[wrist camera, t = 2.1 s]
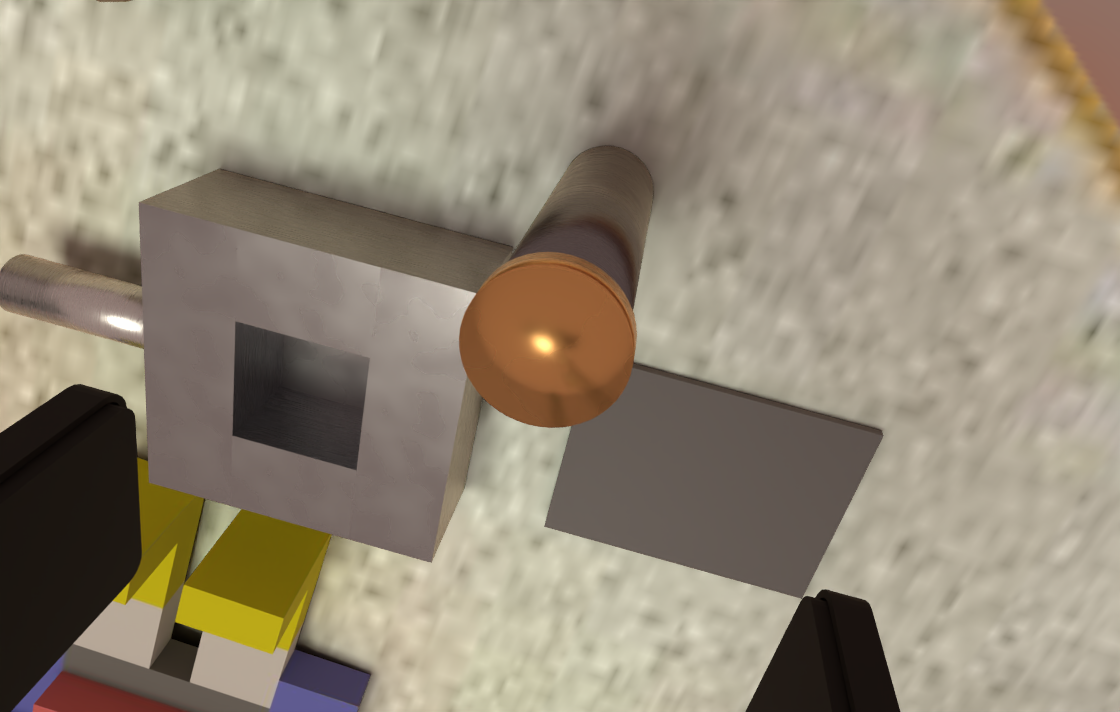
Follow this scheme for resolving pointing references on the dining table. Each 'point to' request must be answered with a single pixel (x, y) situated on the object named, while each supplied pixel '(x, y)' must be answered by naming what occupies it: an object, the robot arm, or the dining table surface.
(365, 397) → the block
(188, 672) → the toy
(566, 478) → the mat
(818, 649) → the robot arm
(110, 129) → the dining table surface
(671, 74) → the dining table surface
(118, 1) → the tan lumpy mass
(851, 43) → the dining table surface
